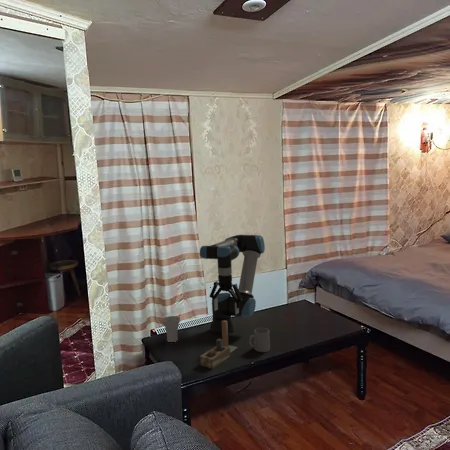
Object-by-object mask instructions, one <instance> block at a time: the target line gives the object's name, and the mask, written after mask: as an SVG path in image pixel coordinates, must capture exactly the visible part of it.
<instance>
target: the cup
mask: <svg viewBox="0 0 450 450" xmlns="http://www.w3.org/2000/svg"><path fill="white" fill-rule="evenodd" d="M180 321H181V317H179V316H176V315H170V316H169V315H168V316H166V317H164V318H162V324H163V326H164V328H165V331H166V337H167V338H166V342H167V341H168V342H175V343H177V342H178V341H179V339H178V331H179V325H180ZM177 340H178V341H177ZM176 341H177V342H176ZM168 342H167V343H168Z"/></svg>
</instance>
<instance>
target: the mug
mask: <svg viewBox="0 0 450 450" xmlns="http://www.w3.org/2000/svg"><path fill="white" fill-rule="evenodd" d="M253 331H254V332H253V334H250V336H249V340H248V343H249V345H250V347H252V348H254V350H255V352H256V351H257V352H258V353H268V352H269V351H271V341H270V339H271V338H270V329H269V328H266V327H257V328H255V329H254V330H253ZM253 338H254V341H253V342H254V343H252V339H253Z"/></svg>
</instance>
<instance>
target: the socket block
mask: <svg viewBox="0 0 450 450" xmlns="http://www.w3.org/2000/svg"><path fill="white" fill-rule="evenodd" d="M215 341H216V342H215V343H216V345H215V346H213V347H212V348H210V349H209V350H207V351H206V352H205V353H203V354H200V356H199V360H200V366H201V367H204V368H208V369H212V370H214V369H215V368H217V366H218V365H220V364H222V362H224V361H225V360H227V359H228V358H230V357H231V353H230V348H229V347H225V346H222V344H223V342H222V338H217V339H216V340H215Z"/></svg>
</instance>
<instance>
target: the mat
mask: <svg viewBox="0 0 450 450" xmlns="http://www.w3.org/2000/svg"><path fill="white" fill-rule="evenodd" d="M222 346H223V343H222ZM228 347H229V348H230V354H231V353H232V352H233V351H235V350H236V349H238V348H239V347H237V346H234V345H230V344H228Z"/></svg>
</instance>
